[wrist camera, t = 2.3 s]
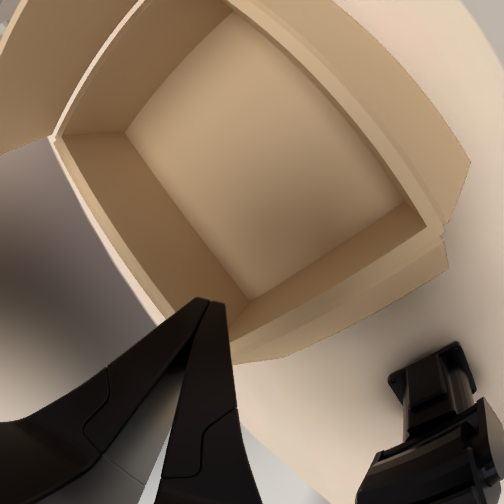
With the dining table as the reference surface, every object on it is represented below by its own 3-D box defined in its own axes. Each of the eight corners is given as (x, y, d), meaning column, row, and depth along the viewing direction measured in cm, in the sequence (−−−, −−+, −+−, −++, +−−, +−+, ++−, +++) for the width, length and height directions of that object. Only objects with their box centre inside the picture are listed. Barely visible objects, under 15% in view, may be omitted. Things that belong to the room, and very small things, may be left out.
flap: (169, -43, 8) (176, -39, 8) (47, 129, 15) (51, 134, 15) (89, -89, 2) (96, -87, 3) (-34, 163, 9) (-30, 170, 9)
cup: (52, -8, 19) (3, -16, 11) (66, 16, 20) (6, 7, 12) (28, 31, 22) (-19, 29, 14) (38, 61, 23) (-18, 61, 15)
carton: (494, 223, 14) (548, 261, 7) (247, 364, 24) (210, 422, 18) (281, -28, 13) (242, -84, 6) (100, 166, 24) (36, 179, 17)
